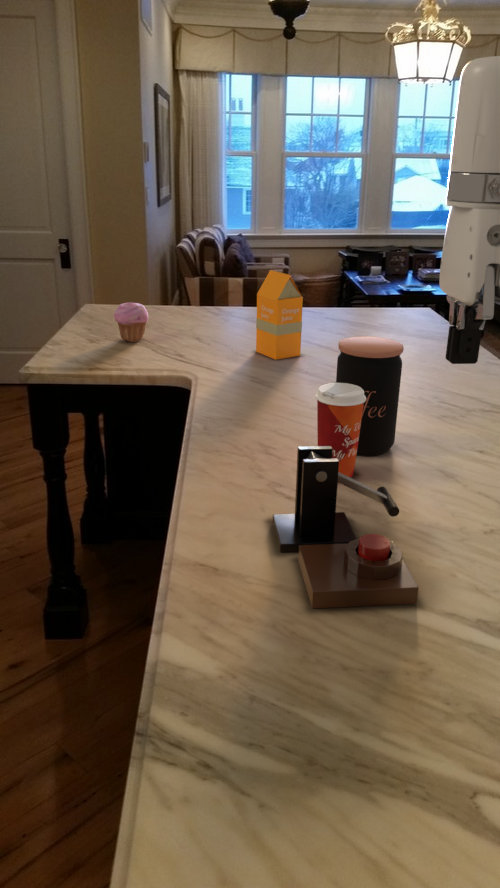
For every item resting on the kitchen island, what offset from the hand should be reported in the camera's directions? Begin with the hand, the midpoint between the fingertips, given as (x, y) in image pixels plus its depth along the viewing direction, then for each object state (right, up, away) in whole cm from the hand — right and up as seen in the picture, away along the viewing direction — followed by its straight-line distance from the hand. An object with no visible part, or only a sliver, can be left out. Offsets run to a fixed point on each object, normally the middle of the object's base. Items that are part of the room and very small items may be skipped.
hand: (461, 361), depth 81 cm
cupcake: (-55, +18, +107) cm, 122 cm away
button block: (-12, -26, +3) cm, 28 cm away
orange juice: (-17, +13, +96) cm, 99 cm away
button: (-10, -22, +2) cm, 24 cm away
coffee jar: (-5, -10, +42) cm, 43 cm away
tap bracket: (-16, -22, +13) cm, 30 cm away
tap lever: (-12, -15, +11) cm, 22 cm away
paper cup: (-11, -14, +31) cm, 36 cm away
